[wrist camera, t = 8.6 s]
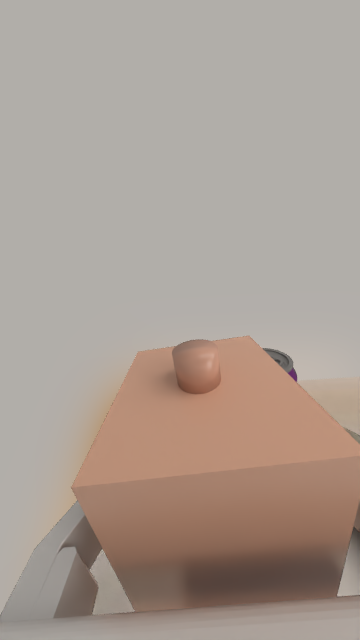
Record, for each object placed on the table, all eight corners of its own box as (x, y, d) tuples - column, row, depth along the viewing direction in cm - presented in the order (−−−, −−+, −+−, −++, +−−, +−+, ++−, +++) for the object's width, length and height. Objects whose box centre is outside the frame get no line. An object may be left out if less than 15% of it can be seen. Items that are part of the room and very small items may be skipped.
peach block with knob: (254, 462, 12) (248, 313, 9) (324, 647, 6) (381, 404, 3) (168, 472, 12) (133, 331, 9) (159, 657, 6) (48, 445, 3)
